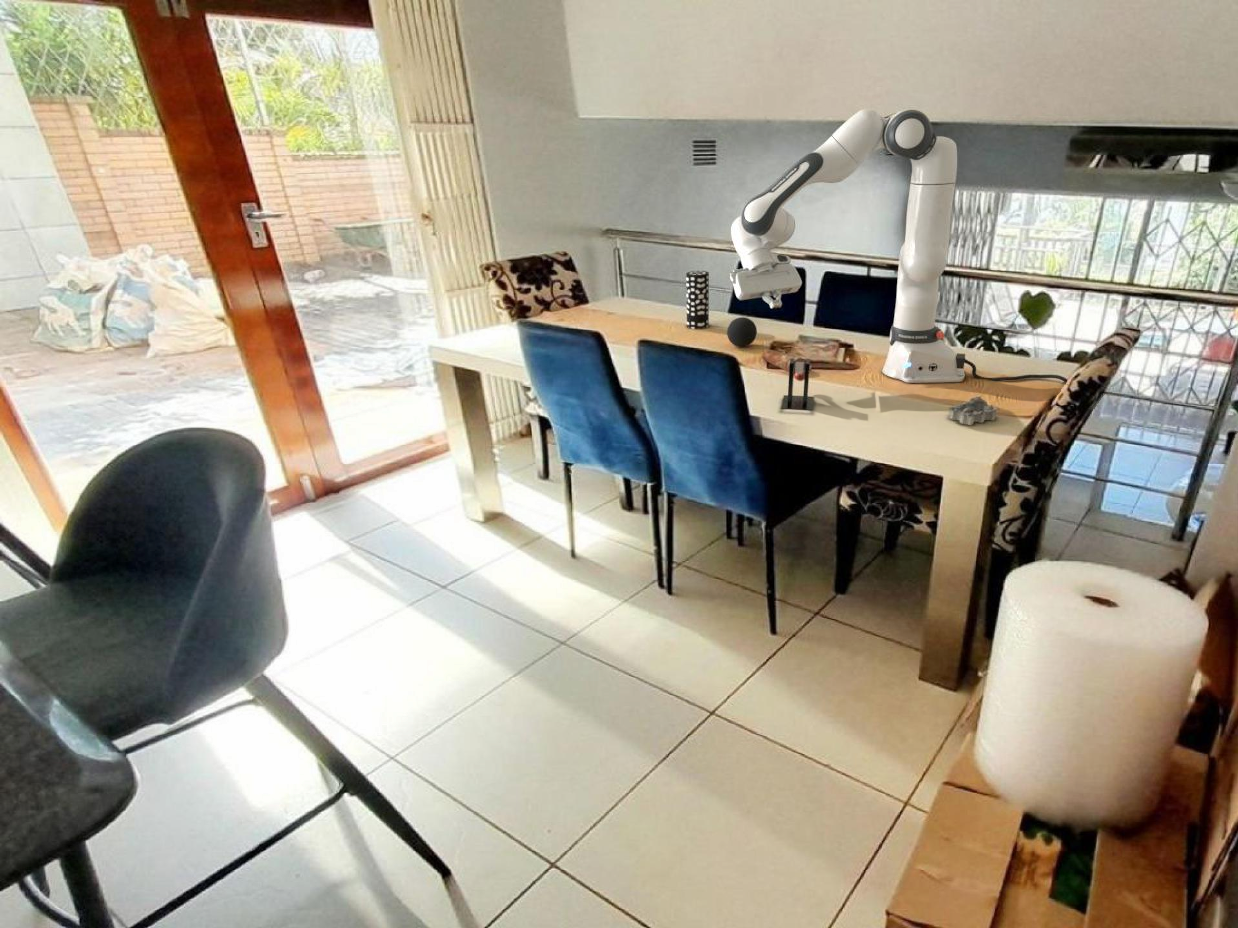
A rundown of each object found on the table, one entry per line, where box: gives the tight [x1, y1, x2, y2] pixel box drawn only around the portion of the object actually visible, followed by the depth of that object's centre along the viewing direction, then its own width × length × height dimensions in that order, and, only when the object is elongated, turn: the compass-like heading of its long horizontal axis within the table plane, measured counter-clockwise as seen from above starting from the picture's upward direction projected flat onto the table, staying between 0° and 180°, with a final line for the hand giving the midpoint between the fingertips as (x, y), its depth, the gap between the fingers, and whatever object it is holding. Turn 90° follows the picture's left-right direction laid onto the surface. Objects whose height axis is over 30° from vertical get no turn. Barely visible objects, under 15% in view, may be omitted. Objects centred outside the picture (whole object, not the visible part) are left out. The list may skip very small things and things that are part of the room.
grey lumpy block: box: [947, 395, 1001, 426], centre depth 176 cm, size 11×8×4 cm
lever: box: [794, 362, 805, 382], centre depth 190 cm, size 13×3×3 cm, turn 165°
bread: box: [761, 349, 806, 375], centre depth 218 cm, size 6×19×6 cm, turn 20°
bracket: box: [780, 358, 815, 412], centre depth 187 cm, size 10×8×13 cm
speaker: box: [726, 316, 758, 348], centre depth 240 cm, size 10×10×10 cm
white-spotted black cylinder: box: [685, 270, 710, 330], centre depth 265 cm, size 8×8×20 cm
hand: (776, 306), depth 199 cm, fingers closed
